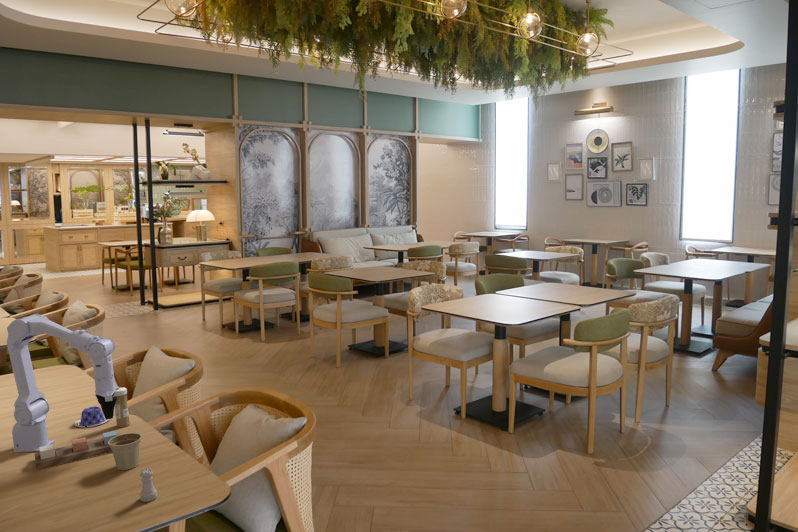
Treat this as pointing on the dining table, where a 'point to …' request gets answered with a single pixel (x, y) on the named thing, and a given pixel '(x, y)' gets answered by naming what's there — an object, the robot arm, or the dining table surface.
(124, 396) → the sprinkles bottle
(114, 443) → the flower pot
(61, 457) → the board
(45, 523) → the dining table surface
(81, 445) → the brick key
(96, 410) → the purple domed brimmed piece
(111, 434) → the blue key
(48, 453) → the white key
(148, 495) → the rook chess piece
